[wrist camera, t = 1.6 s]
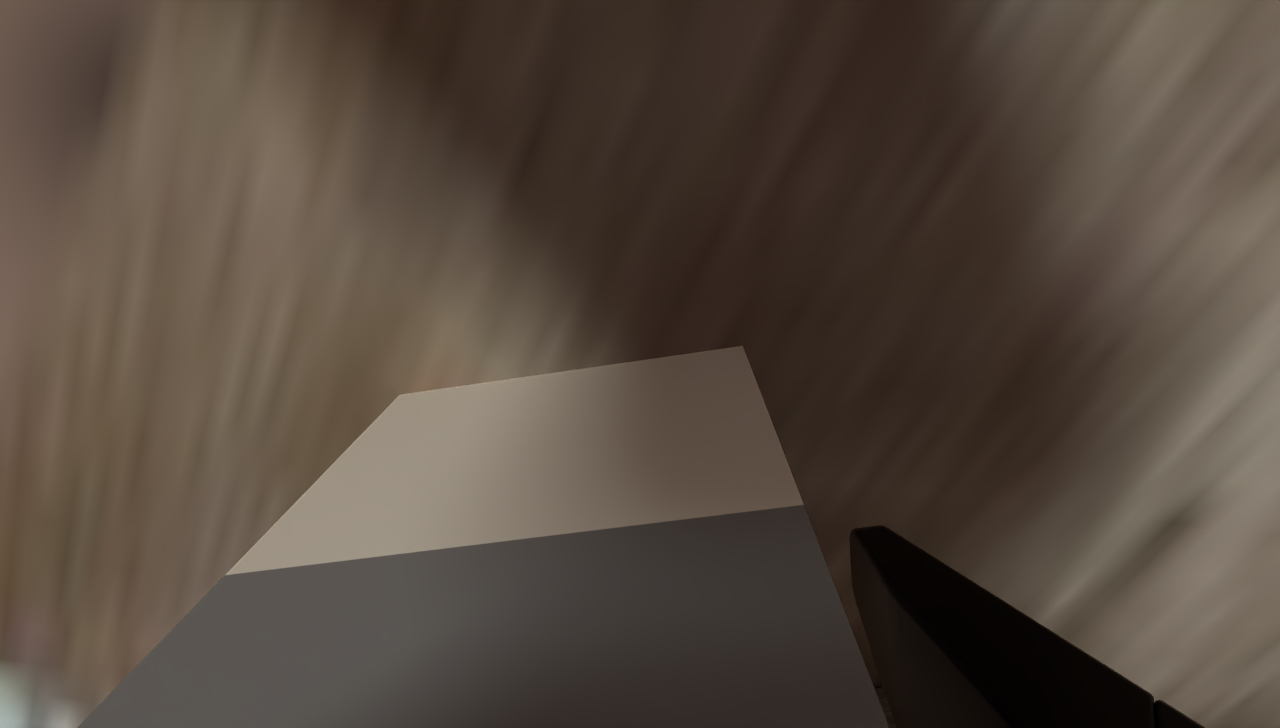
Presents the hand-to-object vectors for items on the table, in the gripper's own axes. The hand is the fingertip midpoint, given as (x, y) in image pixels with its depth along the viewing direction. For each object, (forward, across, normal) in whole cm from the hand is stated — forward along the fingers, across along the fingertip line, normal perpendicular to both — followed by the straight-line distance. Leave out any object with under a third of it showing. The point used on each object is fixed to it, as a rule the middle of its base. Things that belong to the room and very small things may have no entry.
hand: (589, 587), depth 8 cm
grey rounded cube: (+2, 0, 0) cm, 2 cm away
